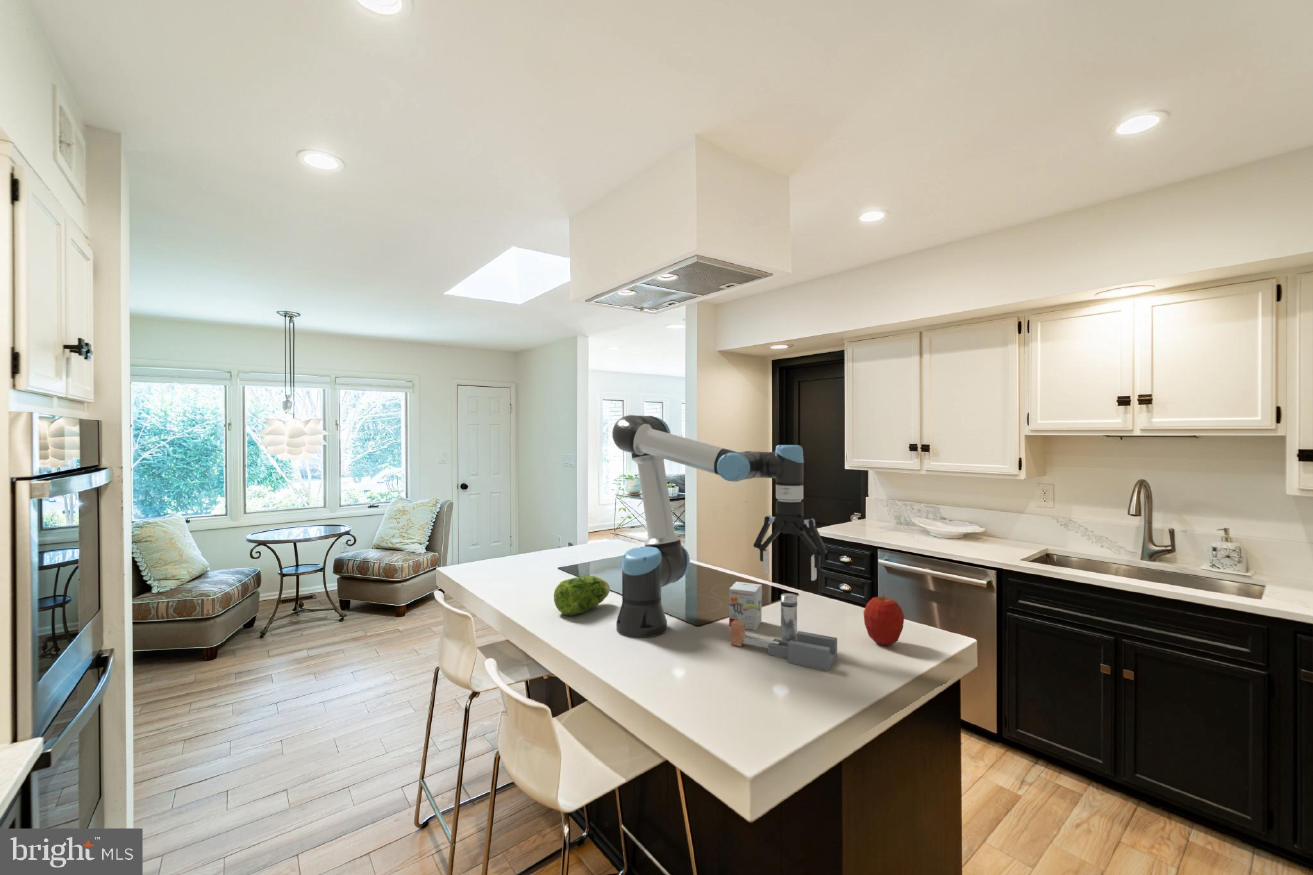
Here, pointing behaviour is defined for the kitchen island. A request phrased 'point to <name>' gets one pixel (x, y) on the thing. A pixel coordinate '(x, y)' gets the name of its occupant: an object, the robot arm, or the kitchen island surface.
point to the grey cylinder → (788, 617)
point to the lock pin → (741, 639)
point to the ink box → (746, 604)
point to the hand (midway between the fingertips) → (789, 576)
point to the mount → (807, 650)
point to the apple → (883, 620)
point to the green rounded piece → (580, 594)
